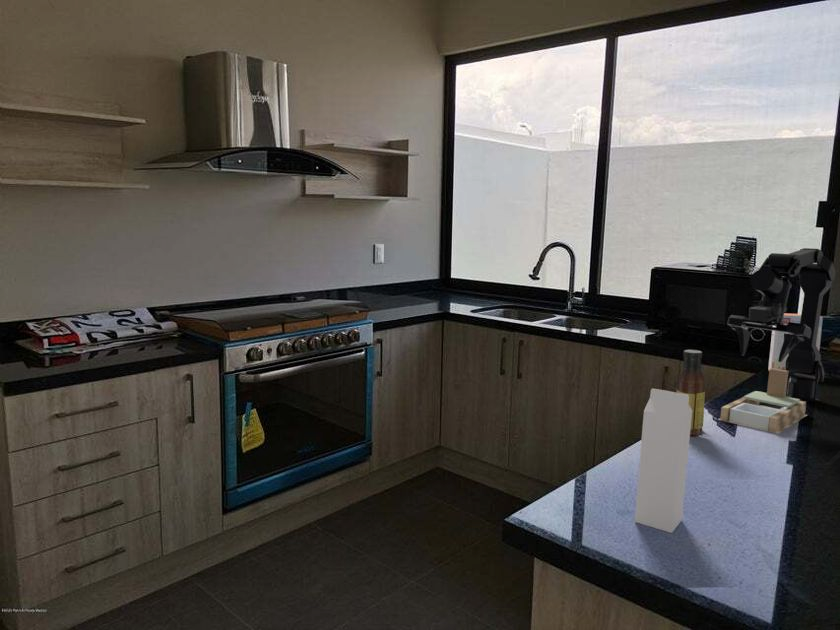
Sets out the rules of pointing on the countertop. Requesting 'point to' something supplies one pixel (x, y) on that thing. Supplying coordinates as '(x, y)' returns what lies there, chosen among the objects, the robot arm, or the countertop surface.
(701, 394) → the sauce bottle
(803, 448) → the countertop surface
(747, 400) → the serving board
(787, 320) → the cracker box
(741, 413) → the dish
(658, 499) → the milk
